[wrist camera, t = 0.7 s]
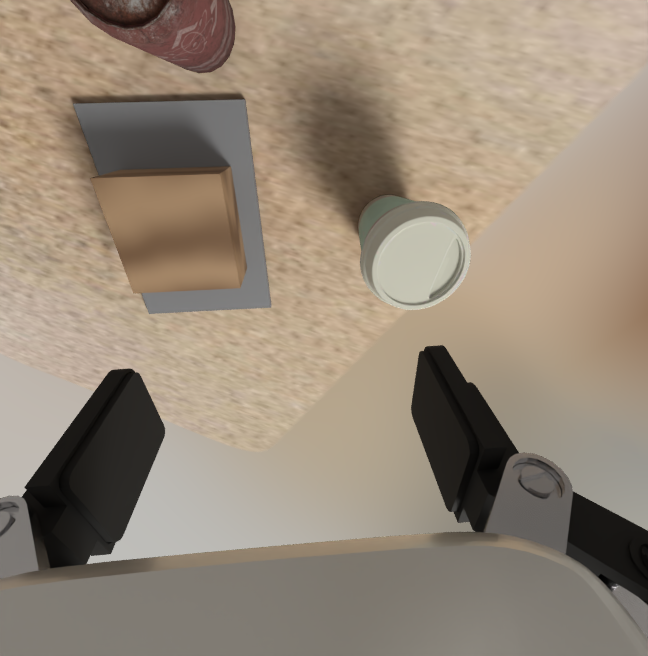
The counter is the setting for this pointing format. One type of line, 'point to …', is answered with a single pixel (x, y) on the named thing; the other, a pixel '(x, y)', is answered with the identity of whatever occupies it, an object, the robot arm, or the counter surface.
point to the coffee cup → (412, 251)
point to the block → (175, 227)
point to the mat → (185, 152)
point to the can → (169, 28)
